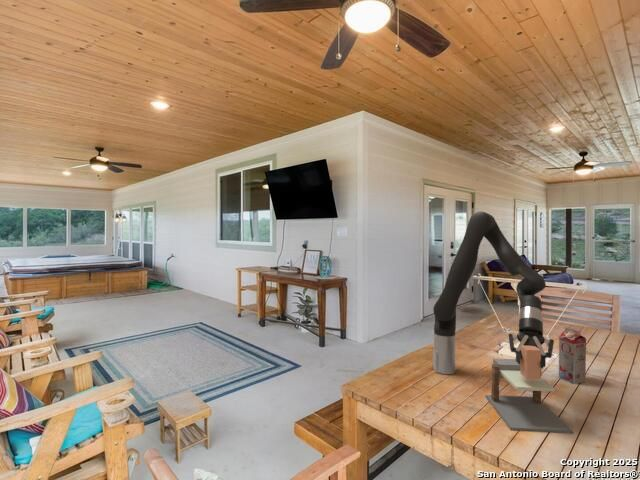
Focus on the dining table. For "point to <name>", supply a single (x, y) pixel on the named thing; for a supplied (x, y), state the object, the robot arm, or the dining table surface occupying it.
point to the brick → (530, 362)
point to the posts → (496, 386)
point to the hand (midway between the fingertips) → (530, 365)
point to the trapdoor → (519, 376)
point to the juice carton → (572, 356)
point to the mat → (528, 415)
